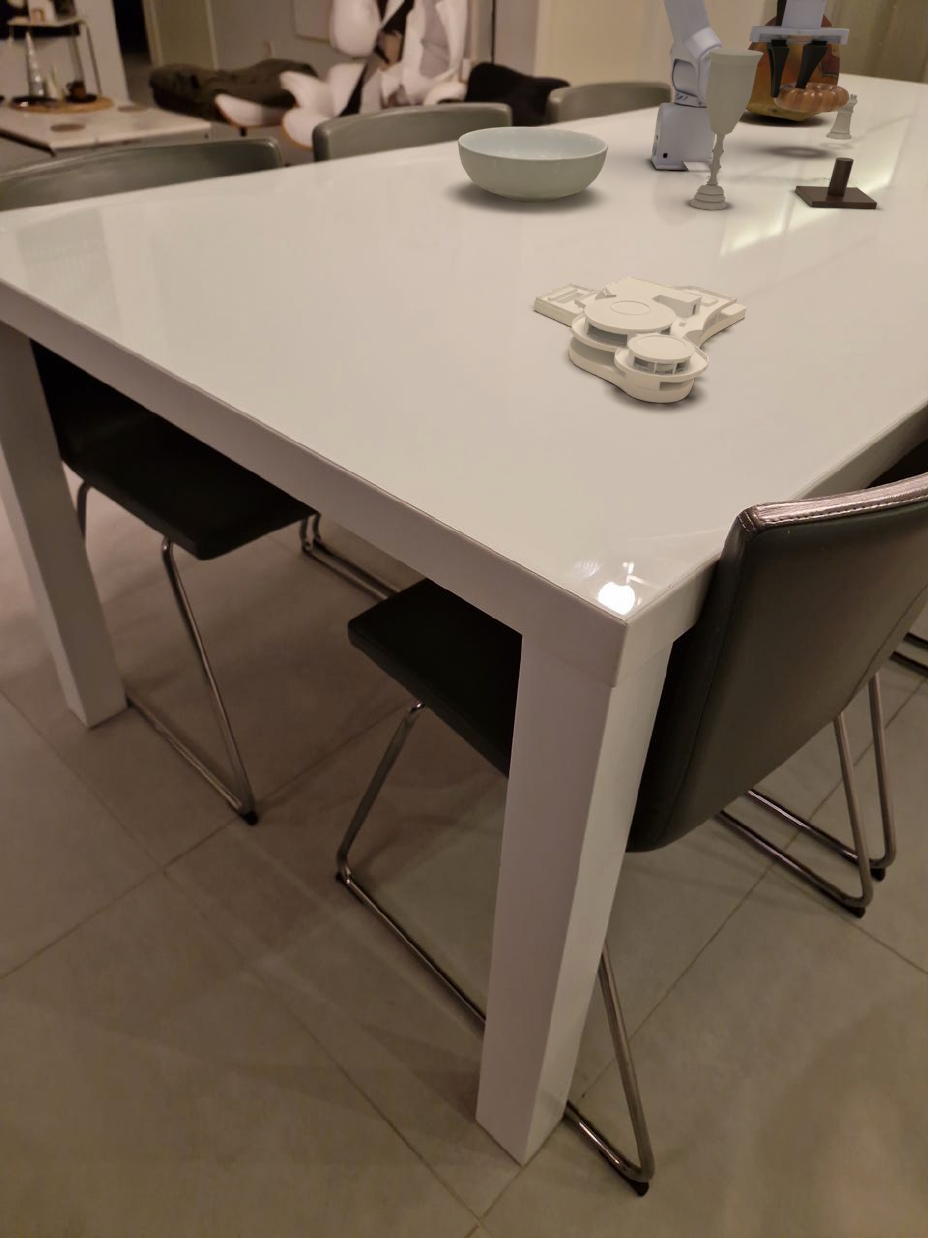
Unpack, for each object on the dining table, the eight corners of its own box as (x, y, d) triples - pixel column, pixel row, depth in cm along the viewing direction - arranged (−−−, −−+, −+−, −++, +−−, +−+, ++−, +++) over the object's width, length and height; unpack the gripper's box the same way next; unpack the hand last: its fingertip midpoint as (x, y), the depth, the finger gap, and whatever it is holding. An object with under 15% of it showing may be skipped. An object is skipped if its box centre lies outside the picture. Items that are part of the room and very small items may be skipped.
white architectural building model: (805, 332, 83) (818, 285, 80) (669, 416, 68) (679, 361, 65) (609, 279, 94) (615, 236, 92) (457, 340, 80) (457, 291, 77)
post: (811, 206, 121) (821, 165, 117) (794, 191, 128) (804, 151, 124) (875, 208, 120) (888, 166, 117) (855, 193, 127) (866, 153, 124)
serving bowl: (431, 200, 120) (430, 144, 116) (496, 171, 134) (498, 121, 130) (569, 221, 113) (574, 163, 108) (623, 188, 127) (629, 136, 123)
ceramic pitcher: (838, 117, 179) (885, -67, 160) (813, 132, 165) (861, -67, 146) (746, 107, 186) (780, -70, 168) (715, 120, 173) (748, -70, 154)
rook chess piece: (845, 144, 156) (859, 93, 151) (852, 149, 153) (866, 97, 148) (820, 143, 157) (833, 92, 152) (826, 148, 153) (839, 96, 148)
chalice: (734, 213, 117) (765, 56, 106) (683, 209, 118) (709, 53, 107) (732, 199, 123) (761, 49, 111) (683, 196, 124) (708, 47, 112)
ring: (782, 112, 134) (787, 90, 132) (765, 101, 143) (769, 80, 141) (854, 114, 134) (860, 92, 132) (832, 102, 142) (838, 81, 141)
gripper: (766, -8, 126) (745, 99, 134) (865, -6, 126) (838, 102, 134) (755, -11, 131) (735, 92, 140) (850, -9, 131) (825, 95, 140)
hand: (785, 97), depth 137 cm, fingers closed on ring, 3 cm apart
